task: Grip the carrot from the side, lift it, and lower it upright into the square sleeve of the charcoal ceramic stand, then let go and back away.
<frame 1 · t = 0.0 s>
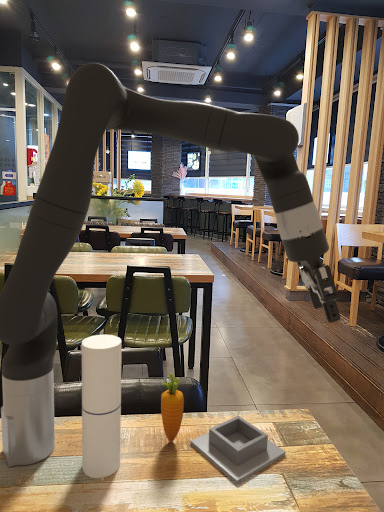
hand: (326, 313, 69), 31 cm above the table, tool tilted 20°, fingers open, 8 cm apart
sleeve stand: (237, 449, 78), on the table
cylindrical container: (101, 465, 72), on the table
carrot: (171, 442, 79), on the table
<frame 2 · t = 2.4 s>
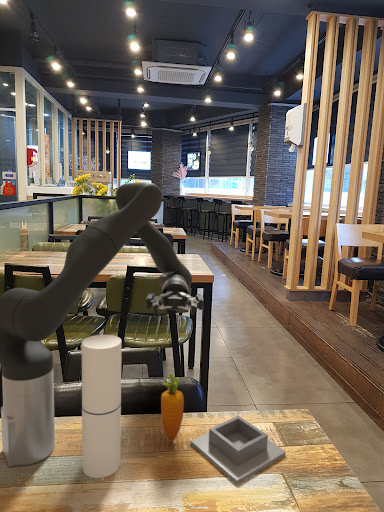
hand: (174, 309, 86), 26 cm above the table, tool horizontal, fingers open, 8 cm apart
nothing on the table moved.
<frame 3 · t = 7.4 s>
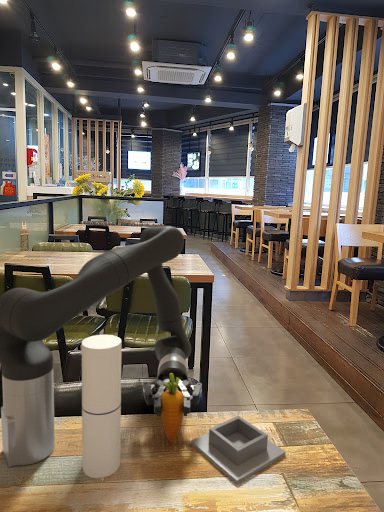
hand: (172, 411, 76), 9 cm above the table, tool horizontal, fingers closed on carrot, 4 cm apart
carrot: (171, 442, 79), on the table, touching gripper
everything else where it was.
when the fingers open (10 cm above the table, at t = 13.1 s): carrot stays where it is, resting on sleeve stand.
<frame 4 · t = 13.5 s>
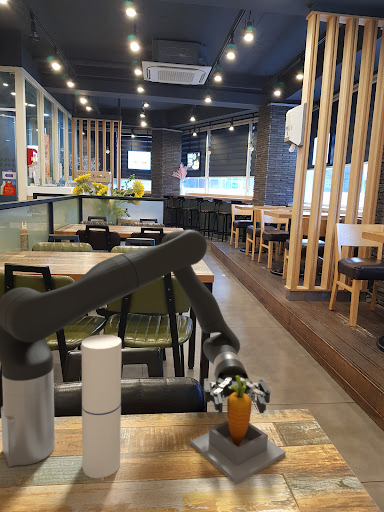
hand: (241, 408, 74), 10 cm above the table, tool horizontal, fingers open, 8 cm apart
carrot: (236, 446, 78), point 1 cm above the table, touching sleeve stand
everything else where it was.
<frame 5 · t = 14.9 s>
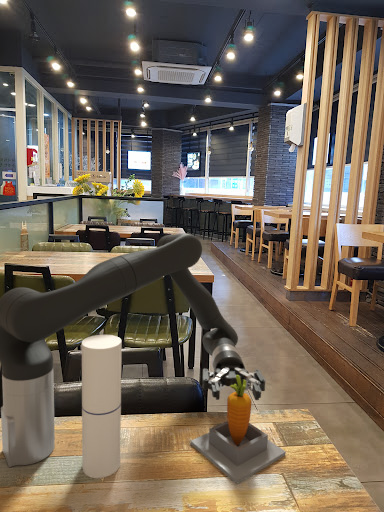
hand: (237, 396, 79), 10 cm above the table, tool horizontal, fingers open, 8 cm apart
nothing on the table moved.
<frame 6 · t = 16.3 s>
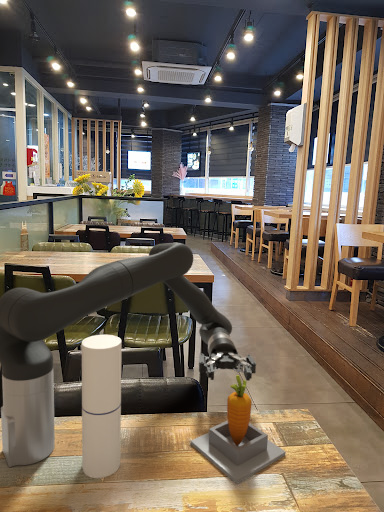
hand: (230, 376, 87), 11 cm above the table, tool horizontal, fingers open, 8 cm apart
nothing on the table moved.
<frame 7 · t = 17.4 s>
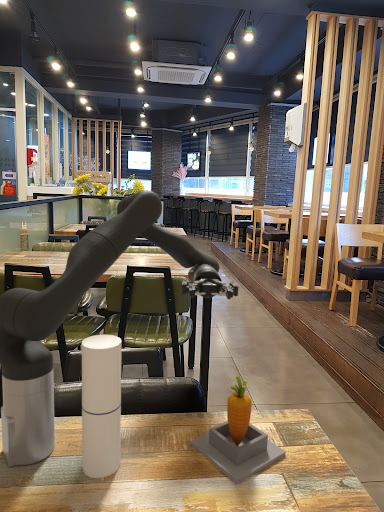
hand: (211, 294, 88), 30 cm above the table, tool horizontal, fingers open, 8 cm apart
nothing on the table moved.
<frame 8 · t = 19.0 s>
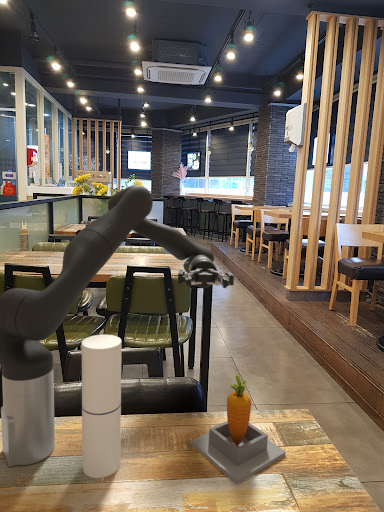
hand: (207, 283, 88), 32 cm above the table, tool horizontal, fingers open, 8 cm apart
nothing on the table moved.
at the end: carrot 0.2 cm from the sleeve stand (horizontally); carrot point 0.6 cm above the table; carrot tilted 1° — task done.
